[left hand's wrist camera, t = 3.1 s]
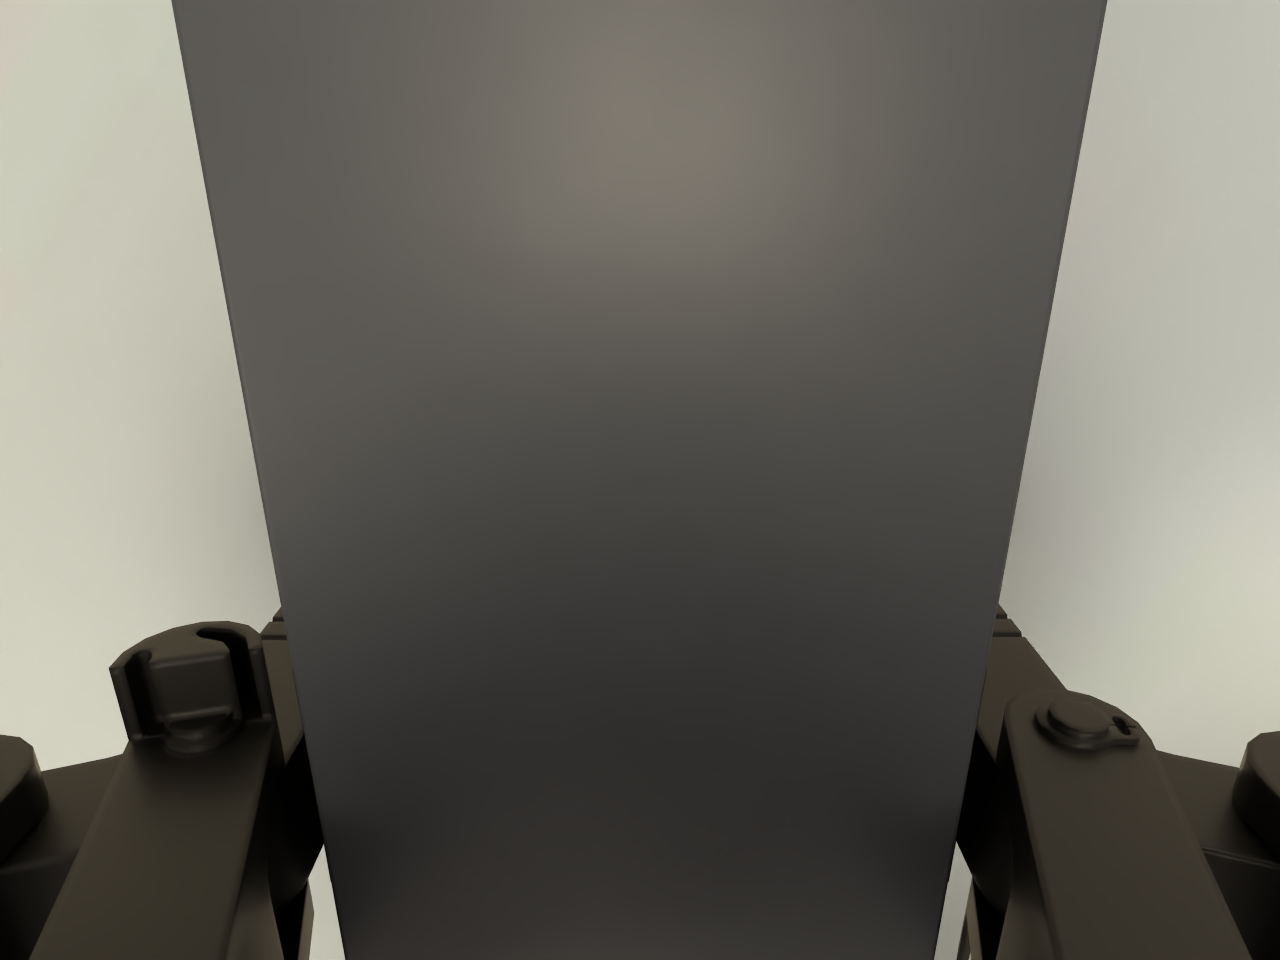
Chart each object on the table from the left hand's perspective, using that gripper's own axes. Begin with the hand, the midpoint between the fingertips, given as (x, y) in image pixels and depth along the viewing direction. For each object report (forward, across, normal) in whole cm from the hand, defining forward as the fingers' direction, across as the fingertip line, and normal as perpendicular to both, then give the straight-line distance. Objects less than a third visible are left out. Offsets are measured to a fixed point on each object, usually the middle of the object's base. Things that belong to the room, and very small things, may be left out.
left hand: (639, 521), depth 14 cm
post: (+1, 0, -34) cm, 34 cm away
